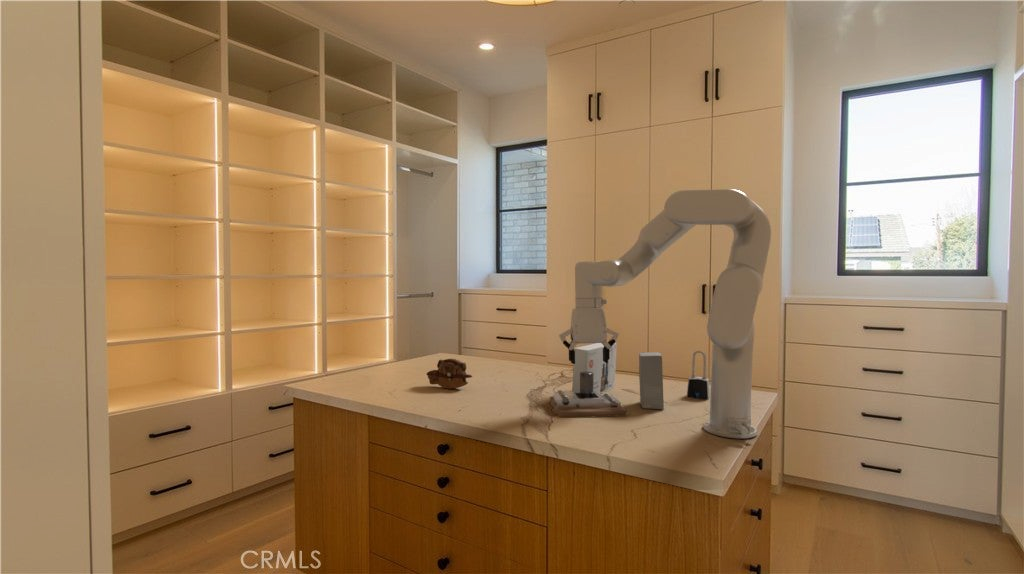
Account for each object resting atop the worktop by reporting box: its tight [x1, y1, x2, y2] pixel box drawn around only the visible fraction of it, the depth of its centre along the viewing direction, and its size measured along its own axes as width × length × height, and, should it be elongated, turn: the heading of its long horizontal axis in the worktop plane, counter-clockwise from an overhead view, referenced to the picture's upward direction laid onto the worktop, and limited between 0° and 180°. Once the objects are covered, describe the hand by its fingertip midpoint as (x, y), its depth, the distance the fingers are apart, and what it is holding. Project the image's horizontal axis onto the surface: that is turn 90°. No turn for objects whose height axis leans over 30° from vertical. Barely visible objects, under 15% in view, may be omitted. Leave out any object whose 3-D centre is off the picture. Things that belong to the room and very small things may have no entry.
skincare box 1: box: [571, 342, 618, 395], centre depth 167 cm, size 21×5×16 cm, turn 143°
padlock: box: [686, 350, 711, 400], centre depth 163 cm, size 7×4×15 cm, turn 62°
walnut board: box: [549, 396, 627, 418], centre depth 149 cm, size 16×19×2 cm
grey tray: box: [553, 389, 622, 408], centre depth 149 cm, size 9×18×3 cm, turn 95°
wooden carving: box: [426, 358, 473, 389], centre depth 171 cm, size 16×5×10 cm, turn 73°
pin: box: [579, 371, 594, 398], centre depth 148 cm, size 4×4×9 cm
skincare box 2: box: [638, 351, 665, 410], centre depth 152 cm, size 8×7×16 cm
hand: (589, 362), depth 148 cm, fingers open, 9 cm apart
